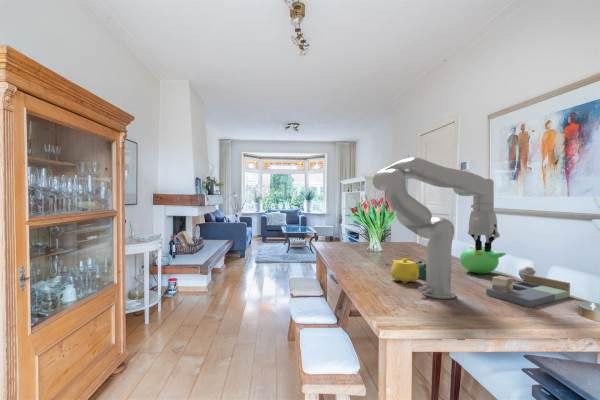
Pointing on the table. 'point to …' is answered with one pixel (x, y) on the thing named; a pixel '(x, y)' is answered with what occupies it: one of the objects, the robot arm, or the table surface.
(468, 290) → the table surface
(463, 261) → the green rounded piece
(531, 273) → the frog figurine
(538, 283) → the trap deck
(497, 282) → the block
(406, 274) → the teapot
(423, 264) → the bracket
